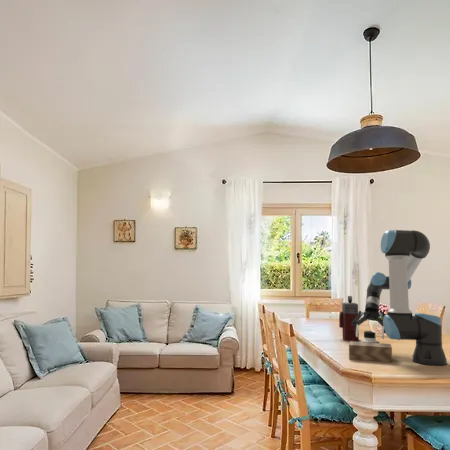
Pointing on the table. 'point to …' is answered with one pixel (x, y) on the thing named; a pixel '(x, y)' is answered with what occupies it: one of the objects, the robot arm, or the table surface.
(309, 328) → the table surface
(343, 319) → the dark red tall piece
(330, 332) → the table surface
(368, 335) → the medicine bottle
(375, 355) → the walnut box
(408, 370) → the table surface
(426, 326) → the robot arm
